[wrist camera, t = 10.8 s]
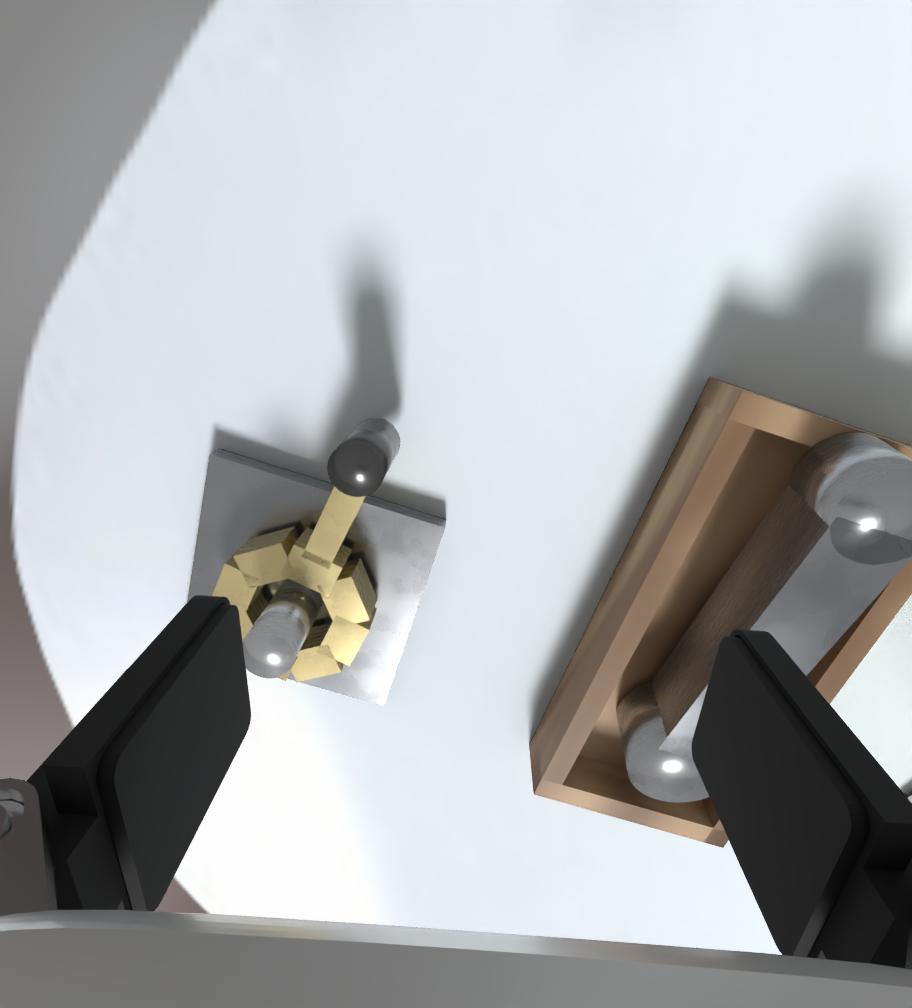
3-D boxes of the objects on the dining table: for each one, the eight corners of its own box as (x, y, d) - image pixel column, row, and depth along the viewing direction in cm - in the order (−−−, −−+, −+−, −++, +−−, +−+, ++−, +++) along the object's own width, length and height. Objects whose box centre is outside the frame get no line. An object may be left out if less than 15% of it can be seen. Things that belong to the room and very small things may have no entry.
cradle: (933, 453, 26) (997, 477, 22) (700, 794, 34) (722, 847, 31) (709, 377, 25) (743, 390, 22) (529, 745, 33) (533, 794, 30)
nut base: (446, 520, 28) (435, 582, 22) (386, 694, 33) (364, 786, 27) (219, 448, 27) (143, 493, 21) (189, 637, 32) (119, 719, 26)
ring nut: (339, 675, 30) (317, 735, 26) (212, 618, 30) (167, 671, 25) (459, 458, 25) (454, 491, 21) (310, 381, 25) (275, 400, 20)
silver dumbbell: (811, 414, 22) (860, 449, 19) (929, 454, 22) (996, 494, 19) (601, 729, 31) (610, 786, 28) (684, 753, 32) (703, 812, 29)
